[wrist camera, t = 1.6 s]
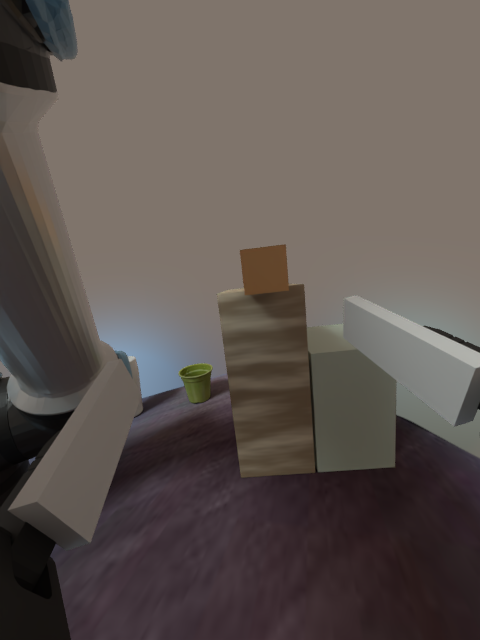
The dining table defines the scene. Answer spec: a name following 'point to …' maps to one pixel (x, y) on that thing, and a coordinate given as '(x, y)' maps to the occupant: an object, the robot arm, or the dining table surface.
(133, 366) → the drinking glass
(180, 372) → the plant pot
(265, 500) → the dining table surface
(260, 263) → the orange bar
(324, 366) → the sage green pillar
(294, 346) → the tall stand
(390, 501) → the dining table surface
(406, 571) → the dining table surface
